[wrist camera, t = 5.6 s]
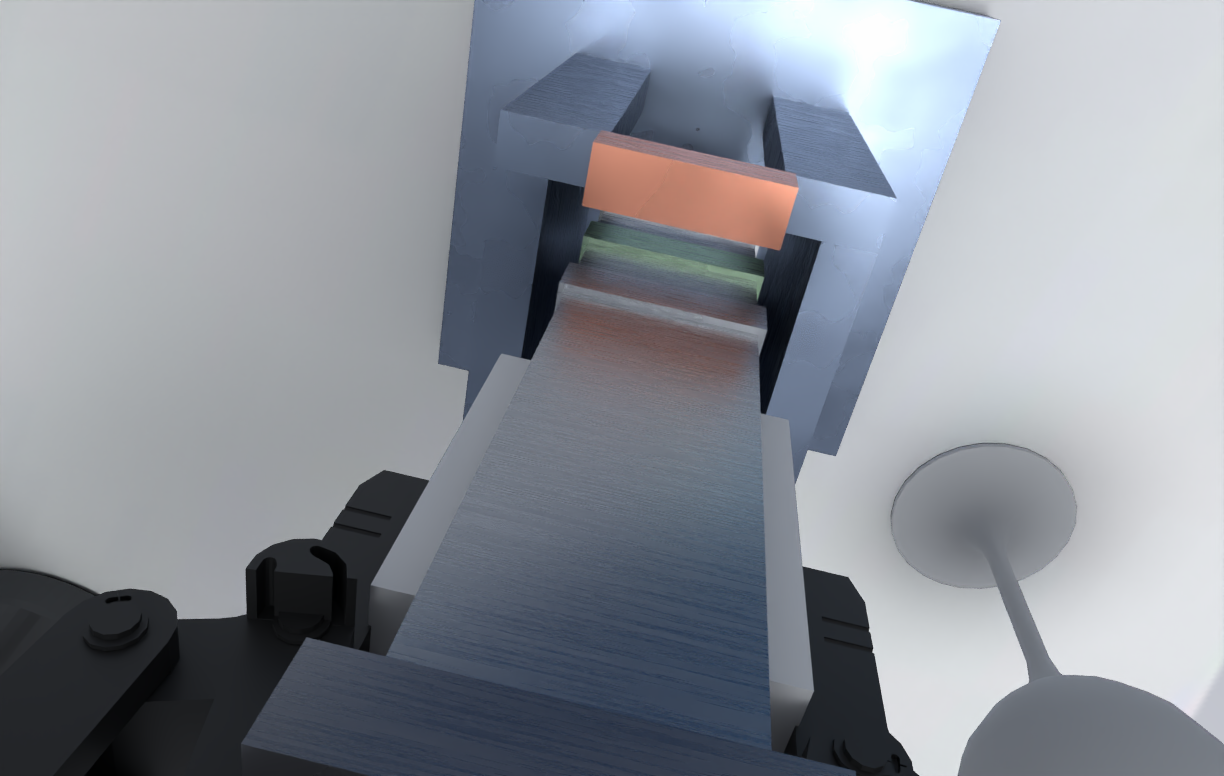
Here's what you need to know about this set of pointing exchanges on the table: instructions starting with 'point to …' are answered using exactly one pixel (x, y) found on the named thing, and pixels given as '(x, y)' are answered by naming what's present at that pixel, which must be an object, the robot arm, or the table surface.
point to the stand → (710, 166)
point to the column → (584, 556)
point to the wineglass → (1001, 556)
